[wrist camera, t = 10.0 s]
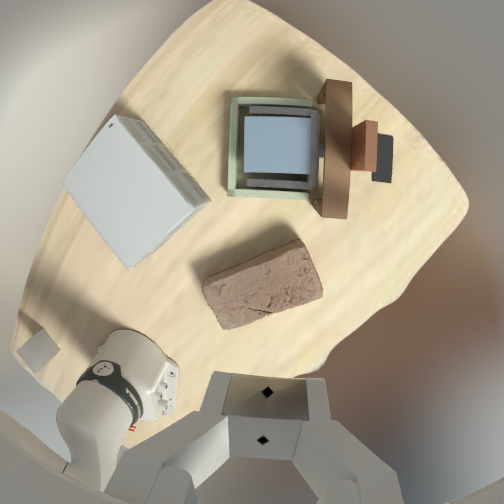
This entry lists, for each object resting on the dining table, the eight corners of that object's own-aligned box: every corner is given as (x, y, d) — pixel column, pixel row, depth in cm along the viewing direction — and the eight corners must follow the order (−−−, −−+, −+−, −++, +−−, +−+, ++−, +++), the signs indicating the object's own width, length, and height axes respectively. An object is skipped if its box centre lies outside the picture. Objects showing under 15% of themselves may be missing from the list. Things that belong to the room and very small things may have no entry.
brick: (227, 320, 47) (222, 335, 43) (203, 277, 45) (195, 289, 41) (322, 284, 44) (326, 296, 39) (301, 235, 42) (304, 243, 38)
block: (305, 173, 39) (310, 174, 34) (249, 171, 40) (243, 172, 34) (306, 125, 37) (310, 118, 32) (249, 124, 38) (244, 116, 32)
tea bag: (43, 327, 53) (18, 348, 44) (60, 349, 54) (37, 372, 45) (39, 333, 54) (15, 353, 45) (55, 354, 55) (33, 376, 46)
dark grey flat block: (390, 183, 38) (391, 183, 38) (372, 180, 38) (372, 180, 38) (392, 137, 36) (393, 136, 36) (374, 133, 36) (374, 133, 36)
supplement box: (94, 178, 42) (59, 183, 33) (145, 120, 39) (114, 111, 30) (154, 254, 45) (127, 273, 36) (213, 200, 42) (195, 208, 33)
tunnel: (333, 209, 40) (346, 219, 32) (313, 207, 40) (321, 217, 32) (338, 98, 35) (352, 82, 27) (318, 96, 36) (326, 78, 28)
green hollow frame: (307, 198, 40) (308, 200, 38) (229, 195, 41) (227, 196, 39) (310, 103, 36) (312, 99, 34) (233, 100, 37) (230, 97, 35)
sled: (344, 191, 39) (373, 202, 26) (248, 185, 40) (232, 192, 27) (347, 116, 36) (377, 93, 23) (250, 109, 37) (236, 81, 24)
